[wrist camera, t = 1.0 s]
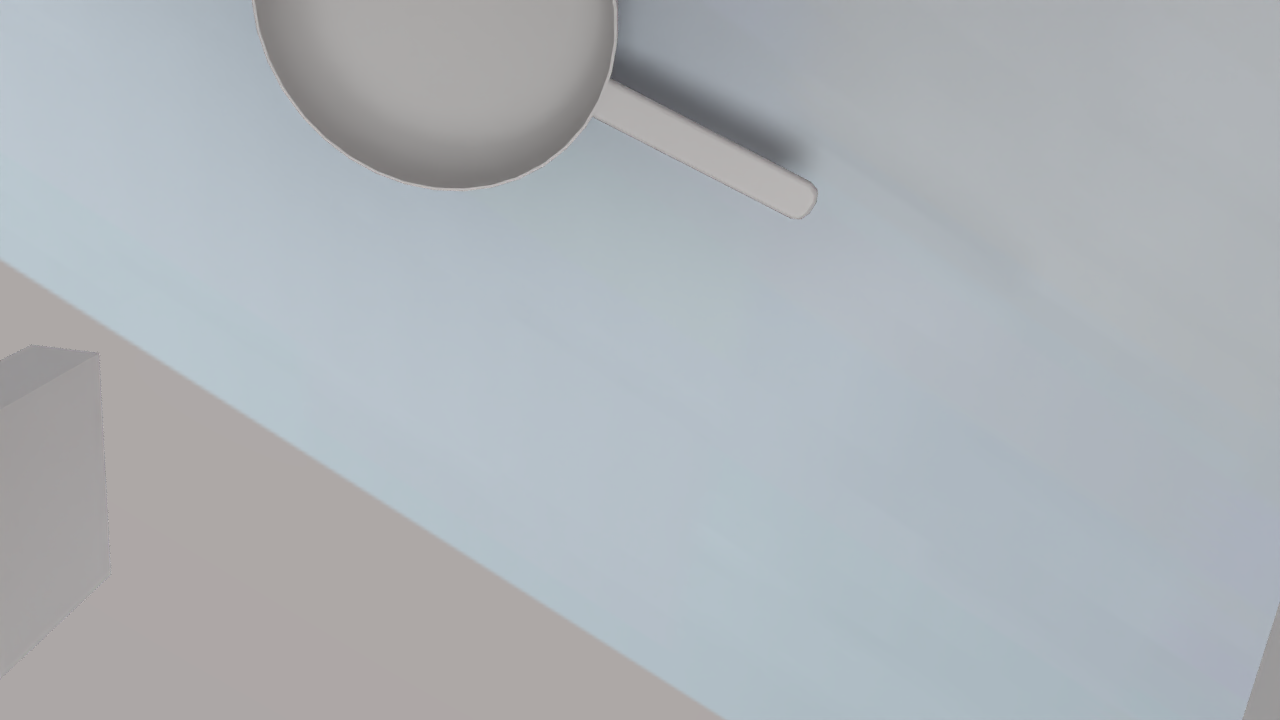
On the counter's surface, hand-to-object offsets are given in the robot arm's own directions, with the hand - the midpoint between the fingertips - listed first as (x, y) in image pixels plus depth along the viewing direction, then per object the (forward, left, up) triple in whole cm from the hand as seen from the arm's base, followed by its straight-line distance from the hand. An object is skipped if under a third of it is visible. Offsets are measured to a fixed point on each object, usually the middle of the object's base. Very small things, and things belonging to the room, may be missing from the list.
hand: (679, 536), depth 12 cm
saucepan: (+4, -4, -27) cm, 27 cm away
